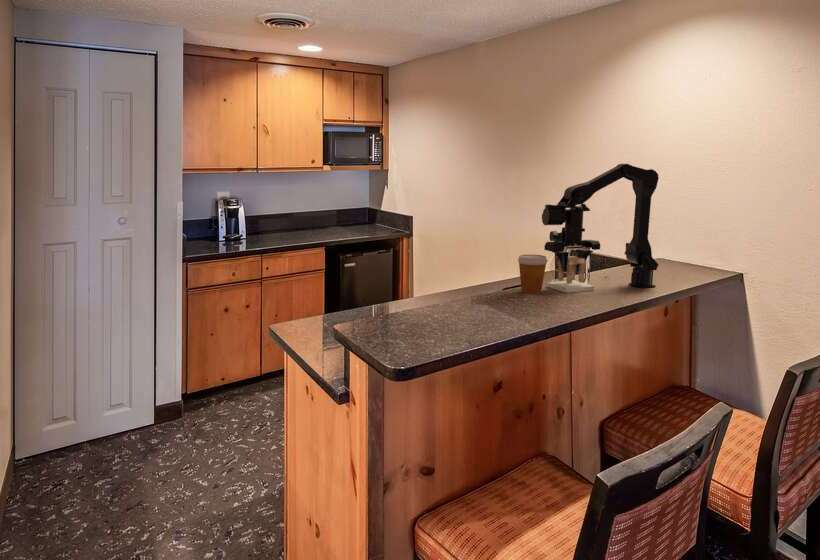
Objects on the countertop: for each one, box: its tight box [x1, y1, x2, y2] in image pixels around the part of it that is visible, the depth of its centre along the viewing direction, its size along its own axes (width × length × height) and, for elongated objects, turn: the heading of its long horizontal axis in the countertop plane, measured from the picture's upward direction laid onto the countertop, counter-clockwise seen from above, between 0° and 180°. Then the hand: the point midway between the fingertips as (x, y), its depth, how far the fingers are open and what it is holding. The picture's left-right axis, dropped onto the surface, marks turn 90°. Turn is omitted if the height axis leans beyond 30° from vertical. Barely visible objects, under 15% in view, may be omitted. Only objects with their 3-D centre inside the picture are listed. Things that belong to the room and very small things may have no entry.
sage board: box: [546, 279, 595, 294], centre depth 192 cm, size 11×11×2 cm
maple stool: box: [557, 255, 586, 283], centre depth 191 cm, size 6×6×8 cm
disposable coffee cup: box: [517, 253, 548, 295], centre depth 185 cm, size 10×10×12 cm
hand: (571, 271), depth 191 cm, fingers closed on maple stool, 5 cm apart
